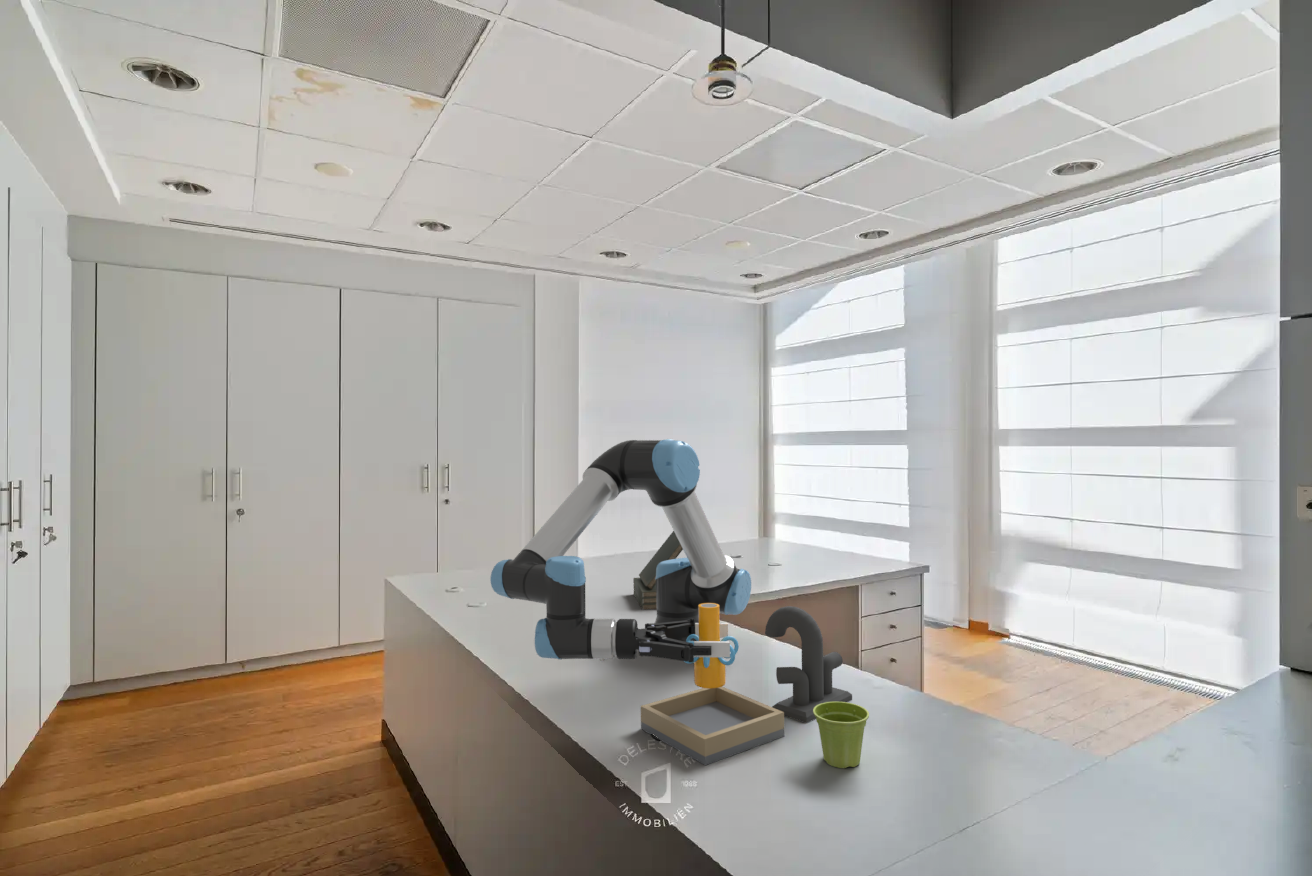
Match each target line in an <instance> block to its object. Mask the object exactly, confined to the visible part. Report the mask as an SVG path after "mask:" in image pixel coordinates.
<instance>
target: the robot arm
mask: <svg viewBox="0 0 1312 876" xmlns="http://www.w3.org/2000/svg"><path fill="white" fill-rule="evenodd" d="M699 467H700V460H699V458H698V455H697V452H696V451H695V449H694V448H693V447H692V446H691V445H690V444H689V443H687V442H685V441H683V440H678V439H677V440H676V439H673V438H672V439H671V438H670V439H669V438H667V439H660V440H659V439H658V440H657V439H653V440H651V439H649V440H647V439H646V440H645V439H644V440H643V439H642V440H641V439H639V440H638V439H637V440H636V439H631V440H625V441H621V442H619V443H617V444H615V445H614V446H611V447H610V448H608V449H607V450H606V451H604V452H603V453H601V454H600V455H599V456H598V457H597V458H596V459H594V460H593V461H592V462H591V464H590V465H589V466H588V467H587V468H586V469H585V470H584V472H583V474H582V480H581V481H580V483H578V485H577V486H576V487H575V488H574V490H573V491H572V492H571V493H570V494H569V495H568V497H566V498H565V500H564V501H563V502H562V504H561V505H560V506H559V507H558V508H557V509H556V510H555V511H554V512H553V514H552V515H551V516H550V517H549V518H548V519H547V520H546V522H545V523H544V524H543V525H542V526H541V528H540V529H539V530H538V531H537V532H536V533H535V535H533V537H532V538H531V539H530V540H529V541H528V542H527V543H526V545H525V546H524V547H523V548H522V549H521V550H520V551H519V553H518V554H517V555H516V556H515V557H514V558H513V559H511V558H508V559H503V560H500V561H498V562H497V563H496V564H494V566H493V568H492V569H491V573H490V578H489V579H490V585H491V589H492V590H493V591H494V592H495V593H496V594H497V595H499V596H502V597H505V598H508V599H512V600H514V599H515V600H522V601H529V602H534V603H538V604H544V605H545V607H546V608H545V609H546V617H544V618H540V619H539V620H538V621H537V622H536V626H535V630H534V649H535V652H536V655H538V656H539V657H540V658H542V659H554V660H555V659H556V660H579V659H580V660H582V659H583V660H584V659H585V660H587V659H590V660H591V659H592V660H595V659H596V660H598V659H599V662H604V661H605V660H606V659H607V660H613V659H614V658H615V657H616V658H617V659H618V660H635V659H637V656H638V654H639V656H640V657H653V658H654V657H655V658H661V659H667V660H674V661H683V662H684V661H686V662H687V661H688V662H694V657H723V658H724V657H730V653H731V652H730V645H731V642H730V641H731V640H728V641H721V640H720V641H697V640H696V639H694V638H692V639H691V640H690V641H694V644H693V643H689V642H686V639H687V637H688V636H689V635H691V634H695V635H697V636H698V637H699V611H698V605H699V604H702V603H715V604H719V612H720V614H723V615H734V616H737V615H739V614H742V613H743V611H744V610H745V609H746V607H747V606H748V603H749V601H750V598H751V591H752V577H751V574H750V572H749V571H748V570H746V569H744V568H737V566H736V564H735V561H734V560H733V558H732V557H731V556H730V555H728V554H726V553H723V551H722V550H723V549H722V547H721V546H720V543H719V541H718V539H717V537H716V535H715V533H714V531H713V529H712V527H711V524H710V522H709V520H708V518H707V515H706V513H705V511H704V509H703V507H702V505H701V502H700V500H699V499H698V496H697V494H696V490H697V487H698V482H699V481H700V475H701V474H700V473H701V469H700V468H699ZM629 490H638V491H639V490H640V491H646V492H647V494H648V497H649V499H650V501H651V502H652V504H654V505H655V506H657V507H659V508H660V507H661V508H662V509H663V512H664V514H665V516H666V518H667V520H668V522H669V524H670V525H671V528H672V530H673V531H674V532H675V534H676V536H677V538H678V540H679V542H680V544H681V546H682V548H683V550H682V551H683V552H684V554H685V557H680V558H678V557H677V558H676V559H671V560H666V561H663V562H660V563H659V564H658V565H657V568H656V578H655V580H656V605H657V609H656V617H655V621H654V623H653V622H650V623H647V622H646V623H645V624H644V628H638V621H637V620H636V619H635V618H619V619H618V620H617V621H616V620H615V618H586V581H587V578H586V575H585V574H586V572H585V562H584V560H583V559H582V558H581V557H579V556H577V555H576V556H575V555H565V554H566V553H567V552H568V551H569V549H570V548H571V547H572V545H573V544H574V543H575V542H576V541H577V539H578V538H579V537H580V536H581V534H582V533H583V532H584V531H585V530H586V528H587V527H588V526H589V525H590V523H591V522H593V520H594V518H595V517H596V516H597V515H598V514H599V513H600V511H601V510H602V509H603V507H604V506H605V505H606V504H607V503H608V502H610V501H611V502H612V501H614V500H615V499H616V498H617V497H618V496H619V495H620V494H621V493H624V492H625V491H629ZM727 636H729V623H728V622H720V639H721V638H722V639H723V638H724V637H727ZM638 650H639V651H638Z"/></svg>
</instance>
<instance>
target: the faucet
mask: <svg viewBox="0 0 1312 876" xmlns="http://www.w3.org/2000/svg"><path fill="white" fill-rule="evenodd" d="M788 628H793V629H794V630H795V631H796V632H797V634H799V637H800V640H801V644H800V645H801V668H799V667H797V666H779V667H776V671H775V672H776V673H775V674H776V681H777V684H778V685H788V684H789V685H790V684H792V695H791V696H790V697H788V698H787V697H786V699H783V700H781V701H779V702H777V703H775V704H774V705H772V706H771V707H773V708H775V709H777V710H780V711H782V712H784V717H786V718H790V719H792V720H797V721H798V722H799V721H800V722H802V723H806V724H808V723H810V722H811V721H813V720H815V719H816V716H815V715H814V713H813V709H814V707H815V706H817V705H818V704H821V703H825V702H848V703H849V702H850V701H852V700H853V693H851V692H850V691H848V690H844V689H841V688H838V687H833V670H836V669H837V668H839V667H841V666H842V665H843V657H842V655H841V654H840V653H839V652H837V651H832V652H829V653H827V654H825V655H824V641H823V640H824V639H823V634H822V631H821V628H820V627H819V625H818V623H817V621H816V620H815V618H814V617H813V616H812V615H811V614H810V613H808V612H807V611H806V610H805V609H802V608H800V607H798V606H793V605H791V606H790V605H788V606H787V605H785V606H783V607H782V606H781V607H780V608H778V609H776V610H775V611H774V612H772V613H771V614H770V616H769V617H768V619H767V623H766V624H765V631H764V634H765V635H766V636H767V637H768V638H782V637H784V636H785V635H786V632H787V630H788Z"/></svg>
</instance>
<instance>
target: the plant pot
mask: <svg viewBox="0 0 1312 876" xmlns="http://www.w3.org/2000/svg"><path fill="white" fill-rule="evenodd" d="M813 713H814V715H815V716H816V720H815V721H816V722H817V726H818V731H819V737H820V742H821V743H820V744H821V749H822V750H821V751H822V756H823V760H824V761H825V762H826V763H827V765H829V766H831V767H834V768H838V769H847V768H850V767H852V768H855V767H857V766H859V765H860V762H861V755H862V748H863V742H864V741H863V740H864V732H865V727H866V726H867V721H868V719H869V718H870V713H869V710H868V709H866V708H865V707H864V706H861V705H858V704H856V703H852V702H849V701H848V702H825V703H821V704H818V705H817V706H815V707H814V709H813Z"/></svg>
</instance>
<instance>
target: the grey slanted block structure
mask: <svg viewBox="0 0 1312 876" xmlns="http://www.w3.org/2000/svg"><path fill="white" fill-rule="evenodd" d="M682 551H684V550H683V548H682V546H681V544H680V542H679V540H678V538H677V536H676V534H675V532H674V530H673V531H671V533H670V534H669V536H668V537H667V538H666V539H665V541H664V542H663V543H662V544H661V546H660V547H659V548H658V550H657V551H656V552H655V554H654V555H653V556H652V557H651V558H650V560H648V562H647V564H646V565H645V566H644V567H643V569H642V570H641V571H640V573H639V574H638V576H639V577H633V578H632V579H633V596H634V597H635V600H636V602H637V603H638V605H639V607H640V609H641V610H642V611H644V610H657V605H656V580H655V578H656V568H657V565H658V564H659V563H660V562H663V561H666V560H671V559H678V557H679V555H680V554H681V553H682ZM643 609H644V610H643Z"/></svg>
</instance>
